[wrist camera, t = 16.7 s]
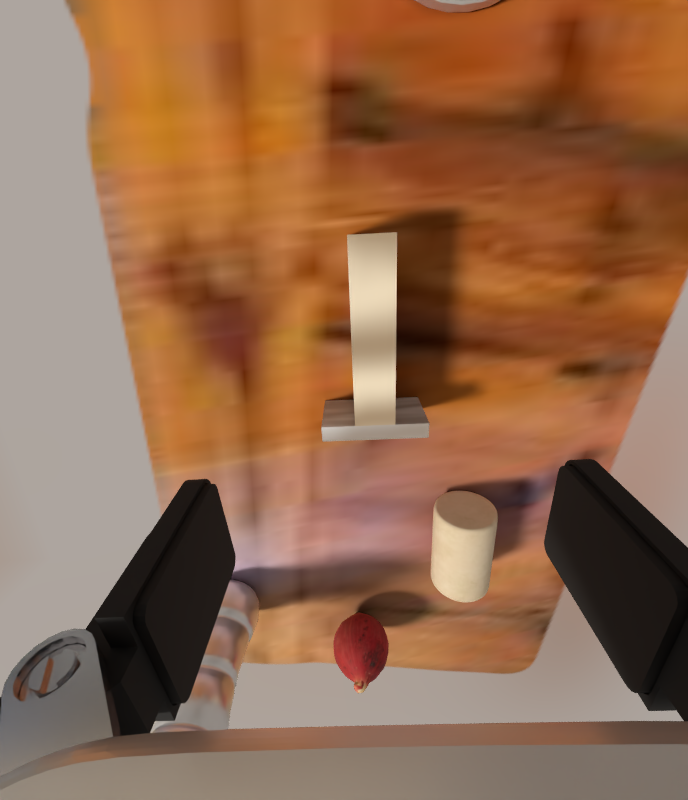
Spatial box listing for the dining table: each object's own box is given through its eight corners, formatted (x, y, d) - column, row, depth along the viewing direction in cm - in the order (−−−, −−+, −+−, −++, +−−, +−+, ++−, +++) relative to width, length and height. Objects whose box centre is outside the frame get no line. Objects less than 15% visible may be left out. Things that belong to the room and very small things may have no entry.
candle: (512, 521, 31) (499, 602, 35) (473, 484, 36) (466, 559, 40) (455, 538, 30) (449, 621, 34) (422, 497, 35) (420, 574, 39)
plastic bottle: (262, 572, 40) (190, 850, 22) (264, 614, 43) (202, 893, 25) (203, 569, 40) (82, 846, 22) (209, 611, 43) (105, 889, 25)
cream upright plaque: (313, 237, 27) (305, 237, 22) (423, 231, 27) (439, 230, 22) (326, 412, 32) (322, 441, 28) (417, 409, 32) (428, 437, 28)
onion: (361, 588, 41) (364, 664, 34) (395, 614, 43) (404, 692, 35) (324, 613, 43) (319, 690, 35) (358, 636, 44) (360, 715, 37)
